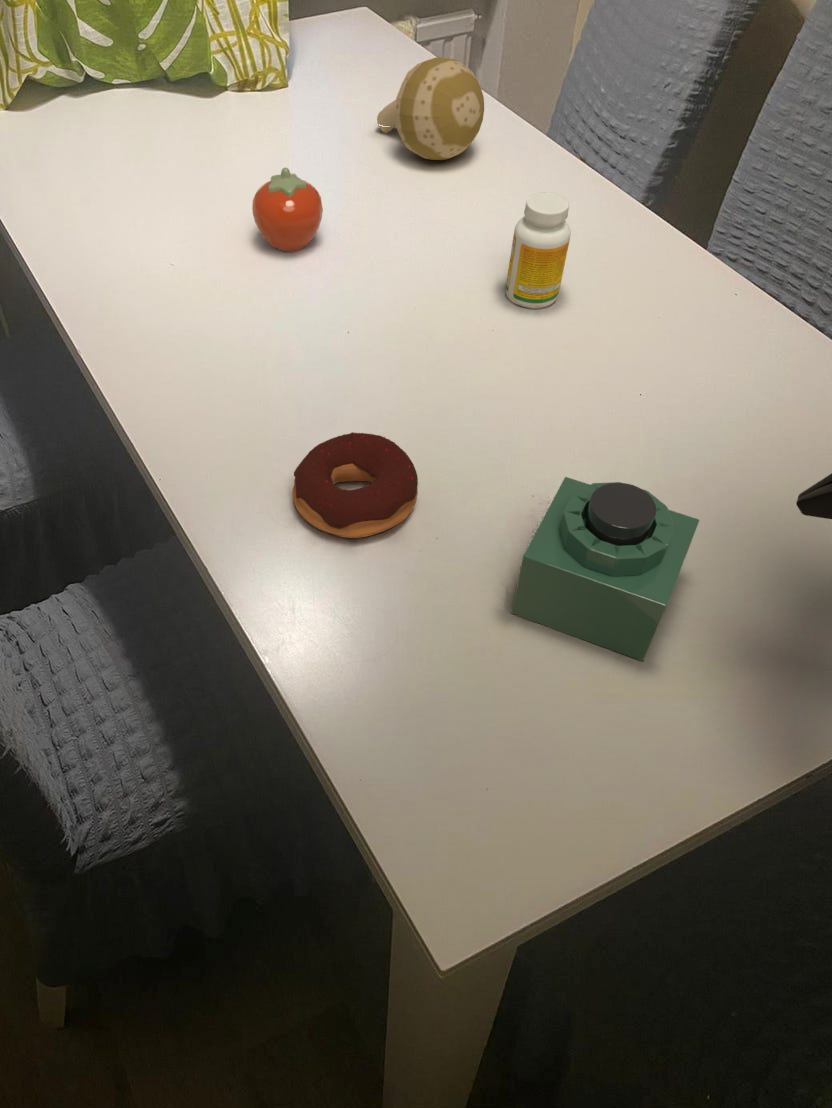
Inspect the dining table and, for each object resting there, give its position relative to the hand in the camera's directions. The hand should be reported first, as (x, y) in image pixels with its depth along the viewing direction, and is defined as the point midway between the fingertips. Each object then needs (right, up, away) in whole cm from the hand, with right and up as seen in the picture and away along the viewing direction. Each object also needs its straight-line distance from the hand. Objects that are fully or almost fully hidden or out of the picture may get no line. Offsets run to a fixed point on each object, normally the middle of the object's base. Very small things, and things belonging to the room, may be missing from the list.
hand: (799, 505), depth 56 cm
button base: (-9, -5, +13) cm, 17 cm away
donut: (-27, +3, +20) cm, 34 cm away
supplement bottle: (-9, +27, +38) cm, 47 cm away
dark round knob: (-9, 0, +7) cm, 12 cm away
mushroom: (-18, +52, +58) cm, 80 cm away
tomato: (-34, +35, +44) cm, 66 cm away
